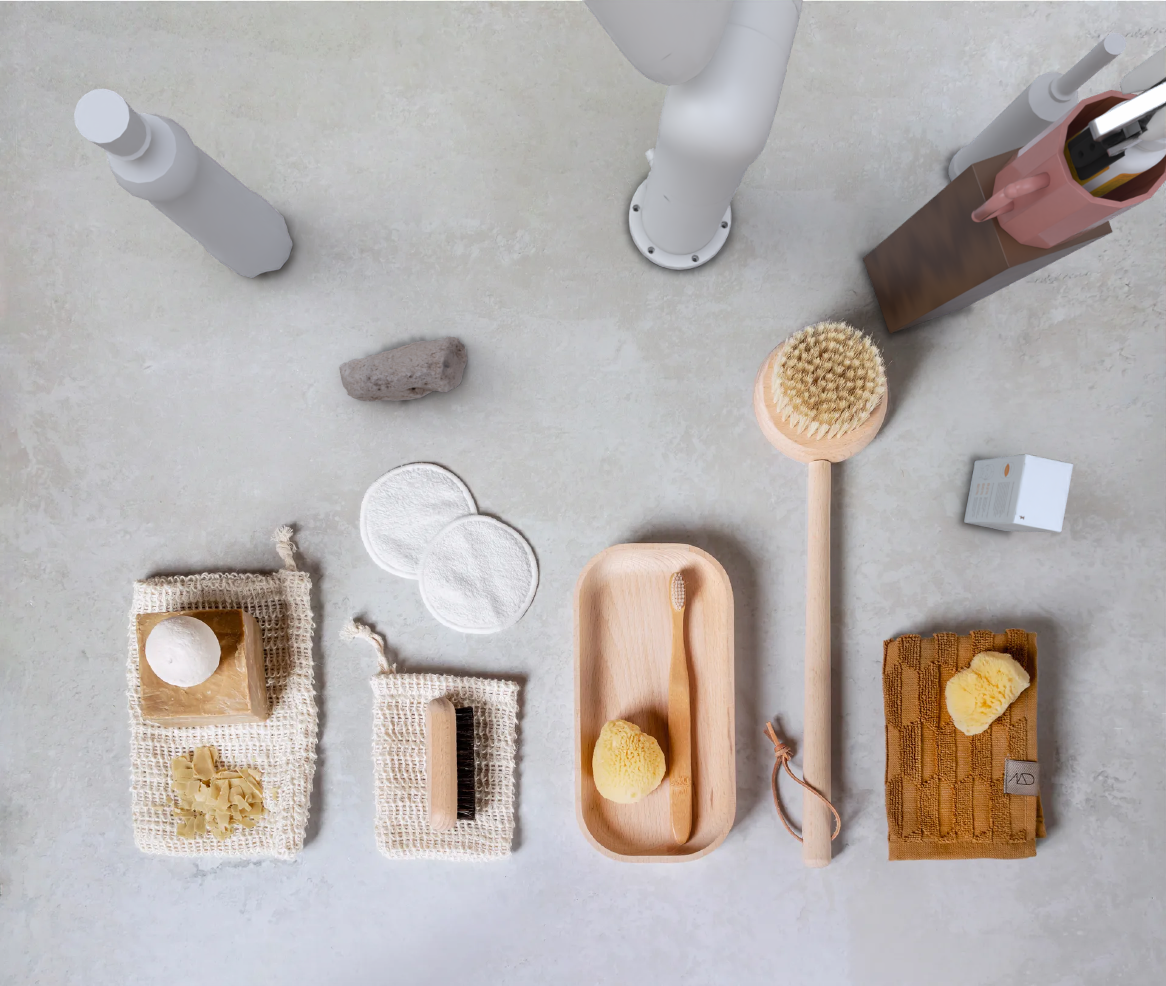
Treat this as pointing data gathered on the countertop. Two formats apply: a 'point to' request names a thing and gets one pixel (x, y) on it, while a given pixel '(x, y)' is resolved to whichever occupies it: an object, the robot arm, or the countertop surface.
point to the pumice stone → (406, 371)
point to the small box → (1019, 493)
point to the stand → (955, 252)
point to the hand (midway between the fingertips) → (1115, 147)
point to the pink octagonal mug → (1061, 184)
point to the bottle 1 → (185, 184)
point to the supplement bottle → (1121, 162)
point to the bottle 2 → (1036, 107)
